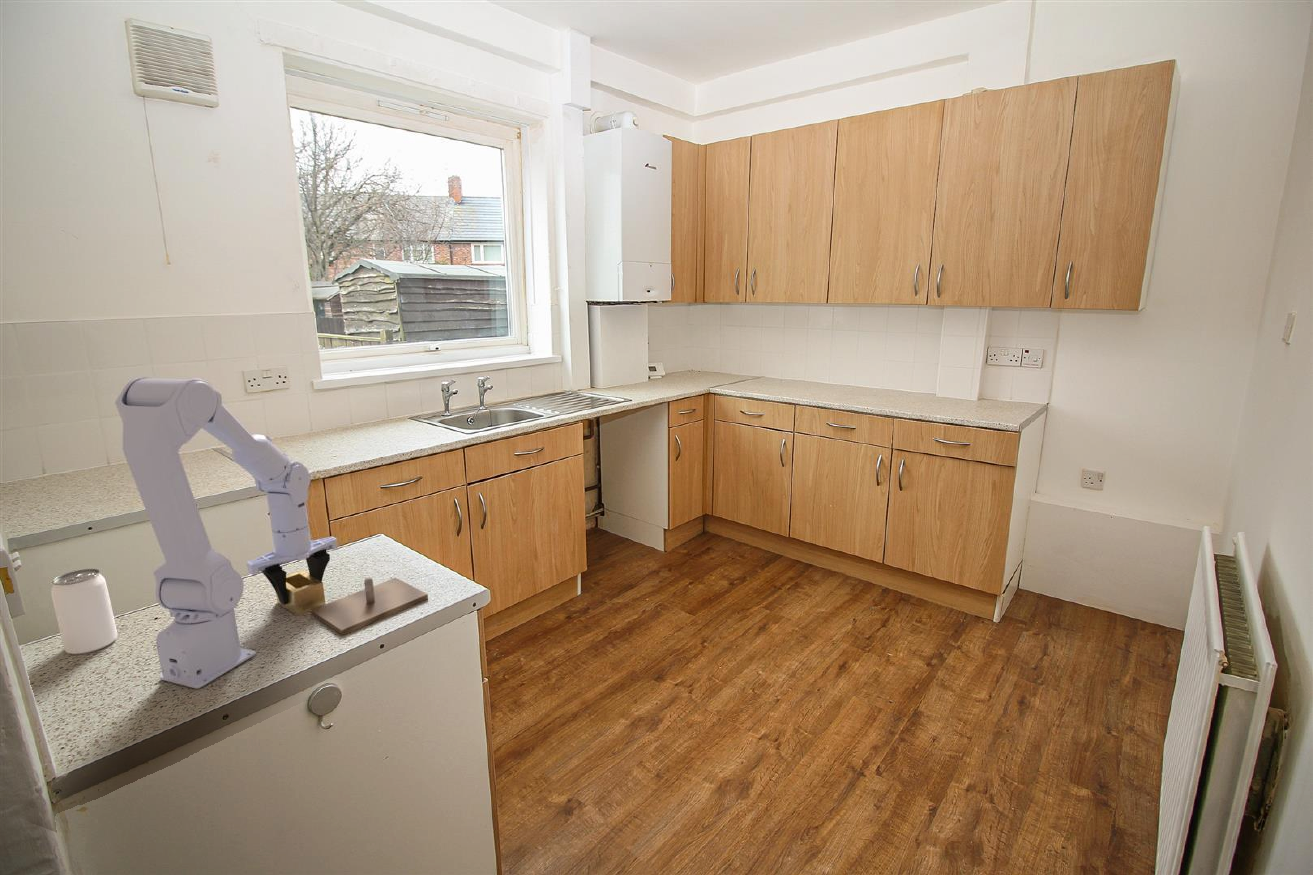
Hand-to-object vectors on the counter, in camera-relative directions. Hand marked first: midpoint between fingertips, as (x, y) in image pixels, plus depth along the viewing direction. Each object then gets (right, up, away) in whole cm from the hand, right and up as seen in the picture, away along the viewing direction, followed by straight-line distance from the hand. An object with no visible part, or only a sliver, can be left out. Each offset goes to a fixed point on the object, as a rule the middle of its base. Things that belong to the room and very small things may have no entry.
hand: (300, 596), depth 114 cm
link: (0, -1, 0) cm, 1 cm away
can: (-26, -5, -13) cm, 30 cm away
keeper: (+13, -2, -1) cm, 13 cm away
